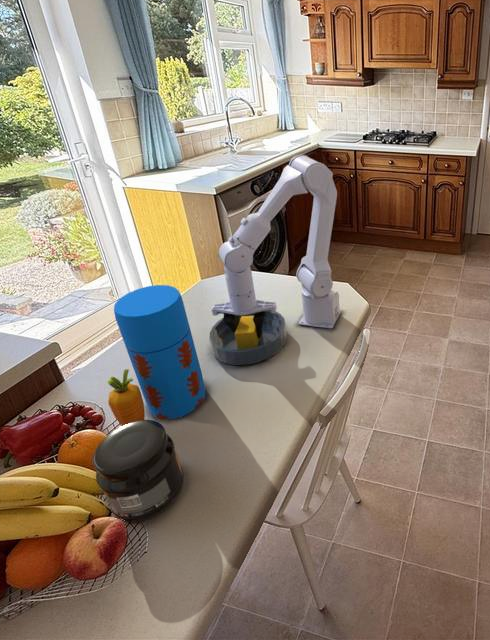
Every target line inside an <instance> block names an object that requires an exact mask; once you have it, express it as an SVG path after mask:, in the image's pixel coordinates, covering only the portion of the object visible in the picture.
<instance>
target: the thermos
mask: <svg viewBox="0 0 490 640" xmlns="http://www.w3.org/2000/svg"><path fill="white" fill-rule="evenodd" d="M185 307H186V306H185V304H184V300H183V297H182V294H181V292H180V290H179V289H178V288H176V286H171V285H168V284H167V285H166V284H156V285H147V286H144V287H141V288H137V289H135V290H132V291H130V292H128V293H125V294H124V295H122V297H121V296H120V298H118V300H117V301H116V302H115V303H114V306H113V312H114V317H115V318H114V319H115V321H116V324H117V326H118V329H119V333H120V335H121V337H122V341H123V343H124V346H125V349H126V352H127V354H128V358H129V360H130V363H131V366H132V368H133V371H134V373H135V376H136V380H137V382H138V386H139V389H140V391H141V394H142V395H143V396H142V397H143V398H144V399H143V400H145V403H146V404H147V407H148V410H149V411H150V413H151V414H152V416H153V417H154V418H157V419H159V420H169V421H170V420H174V419H175V420H176V419H179V418H182V417H184V416H186V415H188V414H190V413H192V412H193V411H194V410H196V409H197V408H198V407H199V406H200V405H201V403H203V402H204V400H205V397H206V389H205V383H204V382H205V381H204V377H203V372H202V368H201V365H200V361H199V356H198V353H197V350H196V346H195V341H194V338H193V334H192V330H191V326H190V323H189V319H188V315H187V311H186V308H185Z"/></svg>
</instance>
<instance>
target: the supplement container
mask: <svg viewBox="0 0 490 640" xmlns="http://www.w3.org/2000/svg"><path fill="white" fill-rule="evenodd" d="M93 453H94V454H93V457H92V464H93V467H94V469H95V481H96V483H97V485H98V487H99V489H100V490H101V491H102V493H103V496H104V497H105V498H106V501H107V503H108V505H109V507H110V511H111V512H112V514H113V516H114V517H115V518H117V519H118V518H121V519H124V520H125V521H124V522H126V523H138V522H142V521H146V520H149V519H152V518H153V517H155V516H157V515H159V514H160V513H161V512H163V511H164V510H165V509H166V508H168V507H169V506H170V505H171V504H172V503H173V501H175V499H176V498H177V497H178V495H179V493H180V491H181V490H182V486H183V483H184V471H183V468H182V466H181V464H180V460H179V458H178V455H177V452H176V449H175V443H174V441H173V439H172V438H171V436H170V435H168V434H167V432H166V429H165V427H164V425H163V424H162V423H160V422H159V421H157V420H154V419H145V420H139V421H134V422H131V423H128V424H126V425H124V426H122V425H120V426H119V427H118V428H116V429H115V430H113V431H111V432H110V433H109V434H108V435H107V436H105V437H104V438H103V439H102V440H101V442H100V443H99V444H98V446H97V447H96V449H95V450H94V452H93ZM128 521H129V522H128ZM130 521H131V522H130Z"/></svg>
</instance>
